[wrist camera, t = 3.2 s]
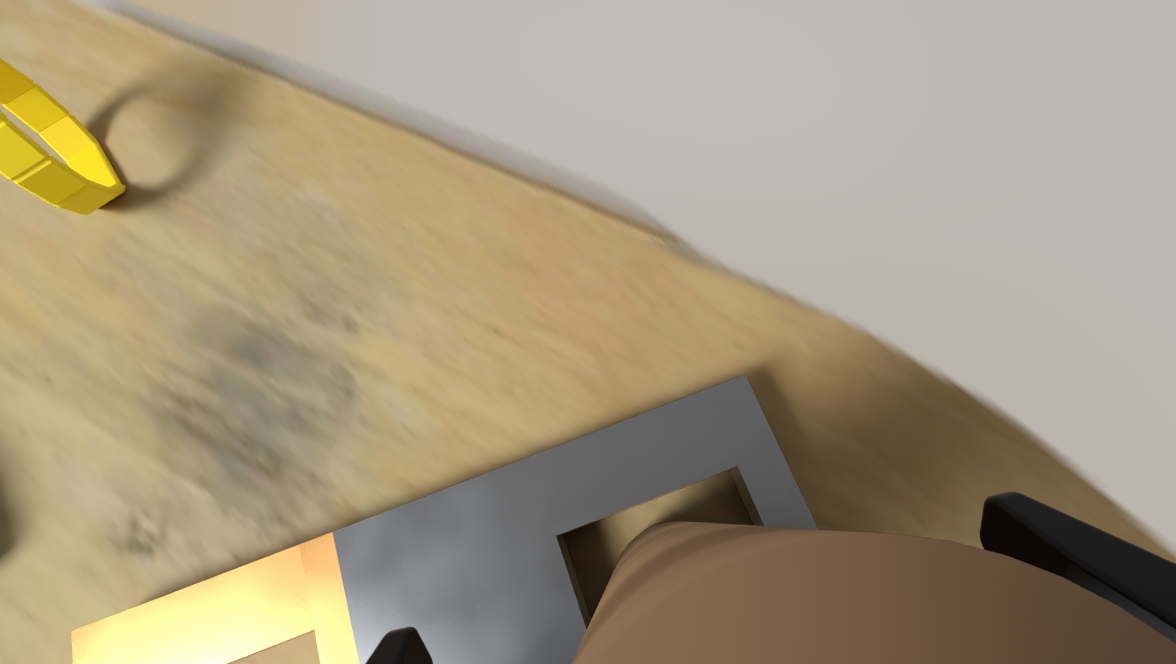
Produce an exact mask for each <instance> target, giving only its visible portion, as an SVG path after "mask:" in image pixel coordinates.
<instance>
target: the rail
mask: <svg viewBox="0 0 1176 664" xmlns="http://www.w3.org/2000/svg"><path fill="white" fill-rule="evenodd" d="M728 470H730V473H731V475H732V477H733V480H734V482H735V484H736V486H737V489H738V491H739V493H740V496H741V498H742V500H743V502H744V505H745V507H746V509H747V512H748V514H749V516H750V518H751V521H752V523H753V525H754V526H770V527H786V528H803V529H818V527H817V525H816V523H815V521H814V519H813V517H812V515H811V512H810V510H809V508H808V506H807V504H806V502H805V500H804V498H803V495H802V493H801V491H800V489H799V487H798V485H797V483H796V481H795V479H794V476H793V474H792V472H791V470H790V468H789V466H788V464H787V462H786V460H785V457H784V455H783V453H782V451H781V449H780V447H779V445H778V443H777V440H776V438H775V436H774V434H773V432H772V430H771V428H770V426H769V424H768V421H767V419H766V417H765V415H764V413H763V411H762V409H761V407H760V405H759V402H758V400H757V398H756V396H755V394H754V392H753V390H752V388H751V385H750V383H749V381H748V379H747V377H746V375H742V376H740V377H737V378H734V379H732V380H729V381H727V382H724V383H721V384H719V385H716V386H713V387H711V388H708V389H706V390H703V391H700V392H698V393H695V394H692V395H690V396H687V397H685V398H682V399H679V400H677V401H674V402H671V403H669V404H666V405H664V406H661V407H658V408H656V409H653V410H650V411H648V412H645V413H643V414H640V415H637V416H635V417H632V418H630V419H627V420H624V421H622V422H619V423H616V424H614V425H611V426H609V427H606V428H603V429H601V430H598V431H595V432H593V433H590V434H588V435H585V436H582V437H580V438H577V439H574V440H572V441H569V442H567V443H564V444H561V445H559V446H556V447H553V448H551V449H548V450H546V451H543V452H540V453H538V454H535V455H532V456H530V457H527V458H525V459H522V460H519V461H517V462H514V463H512V464H509V465H506V466H504V467H501V468H498V469H496V470H493V471H491V472H488V473H485V474H483V475H480V476H477V477H475V478H472V479H470V480H467V481H464V482H462V483H459V484H456V485H454V486H451V487H449V488H446V489H443V490H441V491H438V492H435V493H433V494H430V495H428V496H425V497H422V498H420V499H417V500H414V501H412V502H409V503H407V504H404V505H401V506H399V507H396V508H394V509H391V510H388V511H386V512H383V513H380V514H378V515H375V516H373V517H370V518H367V519H365V520H362V521H359V522H357V523H354V524H352V525H349V526H346V527H344V528H341V529H338V530H336V531H333V532H331V533H328V534H325V535H323V536H320V537H317V538H315V539H312V540H310V541H307V542H304V543H302V544H299V545H297V546H294V547H291V548H289V549H286V550H283V551H281V552H278V553H276V554H273V555H270V556H268V557H265V558H262V559H260V560H257V561H255V562H252V563H249V564H247V565H244V566H241V567H239V568H236V569H234V570H231V571H228V572H226V573H223V574H220V575H218V576H215V577H213V578H210V579H207V580H205V581H202V582H199V583H197V584H194V585H192V586H189V587H186V588H184V589H181V590H179V591H176V592H173V593H171V594H168V595H165V596H163V597H160V598H158V599H155V600H152V601H150V602H147V603H144V604H142V605H139V606H137V607H134V608H131V609H129V610H126V611H123V612H121V613H118V614H116V615H113V616H110V617H108V618H105V619H102V620H100V621H97V622H95V623H92V624H89V625H87V626H84V627H81V628H79V629H76V630H74V631H71V635H72V652H73V664H229V663H232V662H234V661H237V660H240V659H242V658H245V657H247V656H250V655H252V654H255V653H258V652H260V651H263V650H265V649H268V648H271V647H273V646H276V645H278V644H281V643H283V642H286V641H289V640H291V639H294V638H296V637H299V636H302V635H304V634H307V633H309V632H312V631H314V630H315V635H316V640H317V646H318V651H319V657H320V662H321V664H365V663H366V662H367V660H368V659H369V657H370V656H371V654H372V653H373V651H374V650H375V648H376V647H377V645H378V644H379V642H380V641H381V639H382V638H383V637H384V636H385V635H386V634H387V633H388V632H389V631H392V630H396V629H401V628H405V627H414V628H415V629H416V630H417V631H418V633H419V635H420V637H421V639H422V640H423V642H424V644H425V646H426V648H427V650H428V652H429V654H430V655H431V658H432V661H433V664H572V662H573V659H574V657H575V655H576V653H577V651H578V648H579V646H580V644H581V642H582V640H583V637H584V635H585V633H586V631H587V629H588V626H589V624H590V622H591V619H590V616H589V613H588V610H587V607H586V604H585V601H584V598H583V595H582V591H581V588H580V585H579V582H578V579H577V576H576V573H575V570H574V567H573V564H572V561H571V558H570V555H569V552H568V549H567V546H566V543H565V540H564V537H563V534H565V533H568V532H570V531H573V530H575V529H578V528H581V527H583V526H586V525H588V524H591V523H594V522H596V521H599V520H601V519H604V518H606V517H609V516H612V515H614V514H617V513H619V512H622V511H625V510H627V509H630V508H632V507H635V506H637V505H640V504H643V503H645V502H648V501H650V500H653V499H656V498H658V497H661V496H663V495H666V494H668V493H671V492H674V491H676V490H679V489H681V488H684V487H687V486H689V485H692V484H694V483H697V482H699V481H702V480H705V479H707V478H710V477H712V476H715V475H718V474H720V473H723V472H725V471H728Z"/></svg>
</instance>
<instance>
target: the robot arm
mask: <svg viewBox="0 0 1176 664" xmlns="http://www.w3.org/2000/svg"><path fill="white" fill-rule="evenodd" d="M980 539H981V543H982V545H983V548H984V550H987V551H991V552H995V553H999V554H1003V555H1006V556H1009V557H1011V558H1014V559H1017V560H1019V561H1022V562H1024V563H1027V564H1030V565H1032V566H1035V567H1037V568H1040V569H1043V570H1045V571H1048V572H1050V573H1053V574H1056V575H1058V576H1061V577H1063V578H1065V579H1067V580H1069V581H1071V582H1073V583H1075V584H1077V585H1079V586H1081V587H1082V588H1084V589H1086V590H1088V591H1090V592H1092V593H1094V594H1096V595H1098V596H1100V597H1102V598H1104V599H1106V600H1108V601H1110V602H1111V603H1113V604H1115V605H1117V606H1119V607H1121V608H1122V609H1124V610H1125V611H1127V612H1128V613H1130V614H1131V615H1133V616H1134V617H1136V618H1137V619H1139V620H1141V621H1142V622H1144V623H1145V624H1147V625H1148V626H1150V627H1151V628H1153V629H1154V630H1156V631H1157V632H1159V633H1160V634H1162V635H1163V636H1165V637H1166V638H1168V639H1169V640H1171V641H1172V642H1174V643H1176V564H1175V563H1173V562H1170V561H1168V560H1166V559H1164V558H1162V557H1159V556H1157V555H1155V554H1153V553H1151V552H1148V551H1146V550H1144V549H1142V548H1140V547H1137V546H1135V545H1133V544H1131V543H1129V542H1126V541H1124V540H1122V539H1120V538H1118V537H1115V536H1113V535H1111V534H1109V533H1107V532H1104V531H1102V530H1100V529H1098V528H1095V527H1093V526H1091V525H1089V524H1087V523H1084V522H1082V521H1080V520H1078V519H1076V518H1073V517H1071V516H1069V515H1067V514H1065V513H1062V512H1060V511H1058V510H1056V509H1054V508H1051V507H1049V506H1047V505H1045V504H1043V503H1040V502H1038V501H1036V500H1034V499H1032V498H1029V497H1027V496H1025V495H1023V494H1020V493H1016V492H1007V493H1003V494H998V495H994V496H990V497H988V498H987V499H986V500H985V502H984V507H983V514H982V521H981V528H980ZM365 664H433V661H432V658H431V655H430V654H429V652H428V650H427V648H426V646H425V644H424V642H423V640H422V639H421V637H420V635H419V633H418V631H417V630H416V629H415V628H414V627H405V628H401V629H396V630H392V631H389V632H388V633H387V634H386V635H385V636H384V637H383V638H382V639H381V641H380V642H379V644H378V645H377V647H376V648H375V650H374V651H373V653H372V654H371V656H370V657H369V659H368V660H367V662H366V663H365Z"/></svg>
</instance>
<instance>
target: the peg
mask: <svg viewBox="0 0 1176 664" xmlns="http://www.w3.org/2000/svg"><path fill="white" fill-rule="evenodd" d="M572 664H1176V643H1174V642H1172V641H1171V640H1169V639H1168V638H1166V637H1165V636H1163V635H1162V634H1160V633H1159V632H1157V631H1156V630H1154V629H1153V628H1151V627H1150V626H1148V625H1147V624H1145V623H1144V622H1142V621H1141V620H1139V619H1137V618H1136V617H1134V616H1133V615H1131V614H1130V613H1128V612H1127V611H1125V610H1124V609H1122V608H1121V607H1119V606H1117V605H1115V604H1113V603H1111V602H1110V601H1108V600H1106V599H1104V598H1102V597H1100V596H1098V595H1096V594H1094V593H1092V592H1090V591H1088V590H1086V589H1084V588H1082V587H1081V586H1079V585H1077V584H1075V583H1073V582H1071V581H1069V580H1067V579H1065V578H1063V577H1061V576H1058V575H1056V574H1053V573H1050V572H1048V571H1045V570H1043V569H1040V568H1037V567H1035V566H1032V565H1030V564H1027V563H1024V562H1022V561H1019V560H1017V559H1014V558H1011V557H1009V556H1006V555H1003V554H999V553H995V552H991V551H987V550H983V549H979V548H975V547H971V546H967V545H964V544H960V543H956V542H952V541H946V540H938V539H930V538H922V537H914V536H906V535H898V534H885V533H868V532H852V531H836V530H819V529H803V528H786V527H770V526H754V525H737V524H721V523H704V522H688V521H671V522H664V523H661V524H657V525H654V526H652V527H650V528H648V529H646V530H645V531H643V532H641V533H640V534H639V535H638V536H636V537H635V538H634V539H633V540H632V541H631V542H630V543H629V544H628V546H627V547H626V548H625V550H624V551H623V553H622V555H621V557H620V558H619V560H618V562H617V565H616V567H615V569H614V571H613V573H612V576H611V578H610V580H609V582H608V585H607V587H606V589H605V591H604V593H603V596H602V598H601V600H600V602H599V604H598V607H597V609H596V611H595V613H594V615H593V618H592V620H591V622H590V624H589V626H588V629H587V631H586V633H585V635H584V637H583V640H582V642H581V644H580V646H579V648H578V651H577V653H576V655H575V657H574V659H573V662H572Z"/></svg>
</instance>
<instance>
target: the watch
mask: <svg viewBox="0 0 1176 664" xmlns="http://www.w3.org/2000/svg"><path fill="white" fill-rule="evenodd" d="M0 104H3V106H4V107H5V108H7V109H8V110H9V111H10V112H12V113H13V114H14V115H15V116H17V117H18V118H19V119H20V120H22V121H23V122H24V123H25V124H27V125H28V126H29V127H30V128H32V129H33V130H34V131H35V132H37V133H39V135H40V136H41V137H42V138H43V139H44V140H45V141H46V142H47V143H48V144H49V145H50V146H51V147H52V148H53V149H54V150H55V151H56V152H57V153H58V154H59V155H60V156H61V157H62V158H63V159H64V160H65V161H66V162H67V164H68V166H69V167H68V166H66V165H65V164H63V163H62V162H60V161H59V160H57V159H56V158H54V157H53V156H49V153H48V152H46V151H45V150H44V149H43V148H42V147H41V146H39V145H38V144H37V143H36V142H35V141H34V140H32V139H31V138H30V137H29V136H28V135H26V134H25V133H24V132H23V131H22V130H21V129H19V128H18V127H17V126H16V125H15V124H13V123H12V122H11V121H8V118H7V117H6V116H5V115H4V114H3V113H2V111H1V110H0V173H1V174H2V175H4V176H5V177H6V178H7V179H9V180H13V181H14V183H15V184H16V185H18V186H20V187H22V188H23V189H25V190H27V191H28V192H30V193H32V194H34V195H35V196H37V197H39V198H41V199H42V200H44V201H46V202H47V203H49V204H51V205H55V206H56V207H58V208H62V209H65V210H68V211H72V212H75V213H79V214H83V215H85V214H86V215H88V214H90V213H91V212H93V211H95V210H97V209H98V208H100V207H101V206H103V205H105V204H106V203H108V202H109V201H111V200H112V199H114V198H115V197H117V196H119V195H120V194H122V193H123V192H125V188H126V186H125V185H122V183H121V182H120V180H119V178H118V176H117V174H116V173H115V171H114V169H113V167H112V166H111V164H110V162H109V160H108V159H107V157H106V155H105V153H104V151H103V150H102V148H101V146H100V144H99V142H98V141H97V140H96V139H95V138H94V136H93V135H92V134H91V133H90V132H89V131H88V130H87V129H86V128H85V127H84V126H83V125H82V124H81V123H80V122H79V121H78V120H77V119H76V118H75V117H74V116H73V115H69V111H68V110H67V109H66V108H65V107H63V106H62V105H61V104H60V103H59V102H58V101H56V100H55V99H54V98H53V97H52V96H51V95H50V94H48V93H47V92H46V91H45V90H44V89H43V88H41V87H40V86H39V85H38V84H35V83H34V82H33V80H31V79H30V78H29V77H27V76H26V75H24V74H23V73H21V72H20V71H19V70H17V69H16V68H14V67H13V66H11V65H10V64H9V63H7V62H6V61H4V60H3V59H1V58H0Z"/></svg>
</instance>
